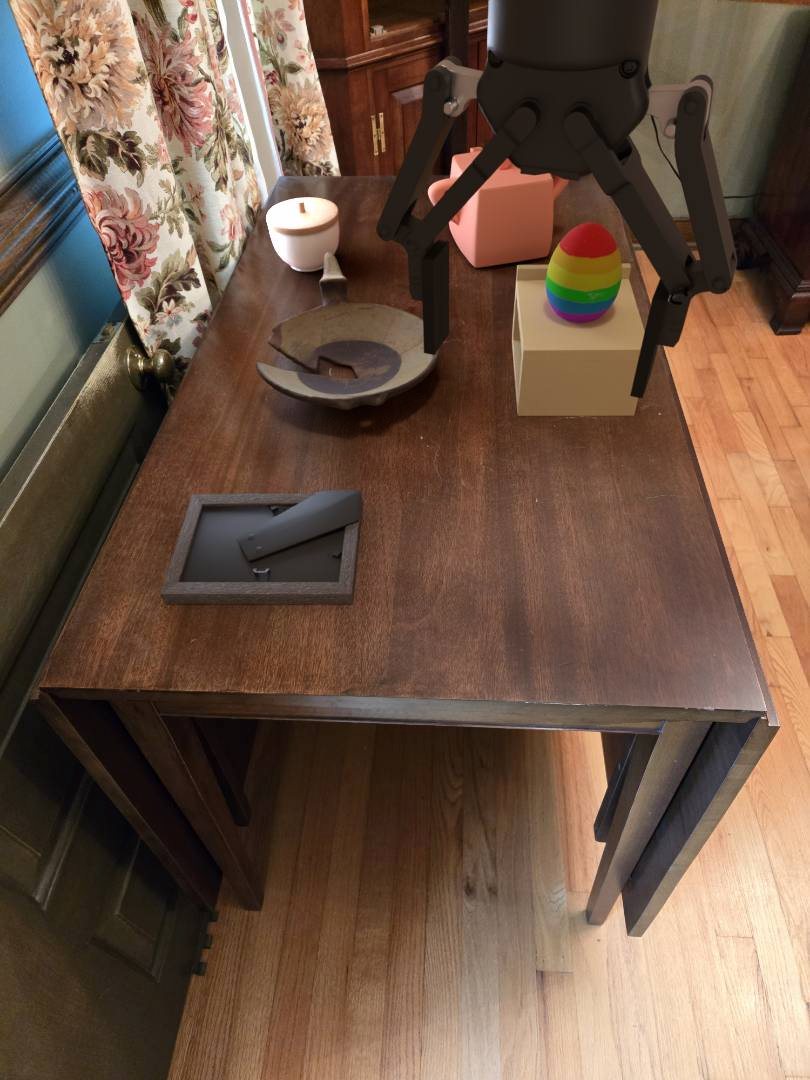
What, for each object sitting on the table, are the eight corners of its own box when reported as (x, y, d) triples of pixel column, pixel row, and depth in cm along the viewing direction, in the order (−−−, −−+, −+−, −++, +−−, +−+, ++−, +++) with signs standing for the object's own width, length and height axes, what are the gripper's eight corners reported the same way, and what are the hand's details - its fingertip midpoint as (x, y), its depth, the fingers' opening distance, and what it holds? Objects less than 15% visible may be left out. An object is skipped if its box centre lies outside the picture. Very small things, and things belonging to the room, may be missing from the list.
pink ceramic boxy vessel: (581, 256, 110) (595, 159, 100) (442, 278, 108) (441, 181, 97) (536, 202, 123) (544, 112, 113) (410, 221, 121) (407, 130, 110)
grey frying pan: (237, 432, 86) (222, 378, 80) (305, 300, 105) (296, 249, 99) (424, 448, 82) (422, 393, 77) (457, 308, 102) (458, 256, 96)
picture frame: (363, 503, 77) (196, 504, 78) (361, 489, 75) (191, 491, 76) (352, 604, 68) (164, 604, 69) (350, 591, 66) (158, 591, 67)
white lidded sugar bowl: (301, 287, 108) (291, 224, 101) (261, 262, 113) (249, 201, 106) (357, 261, 112) (351, 200, 105) (316, 239, 118) (308, 179, 111)
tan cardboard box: (615, 339, 95) (630, 263, 87) (634, 416, 85) (653, 337, 77) (511, 340, 96) (517, 264, 88) (517, 416, 85) (524, 338, 78)
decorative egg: (609, 334, 80) (626, 246, 73) (536, 324, 82) (545, 237, 75) (619, 297, 85) (636, 211, 78) (550, 288, 87) (560, 204, 80)
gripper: (902, -67, 30) (744, 369, 45) (356, -78, 37) (383, 301, 53) (904, -26, 25) (728, 443, 41) (283, -47, 33) (336, 357, 48)
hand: (534, 363), depth 47 cm, fingers open, 13 cm apart
